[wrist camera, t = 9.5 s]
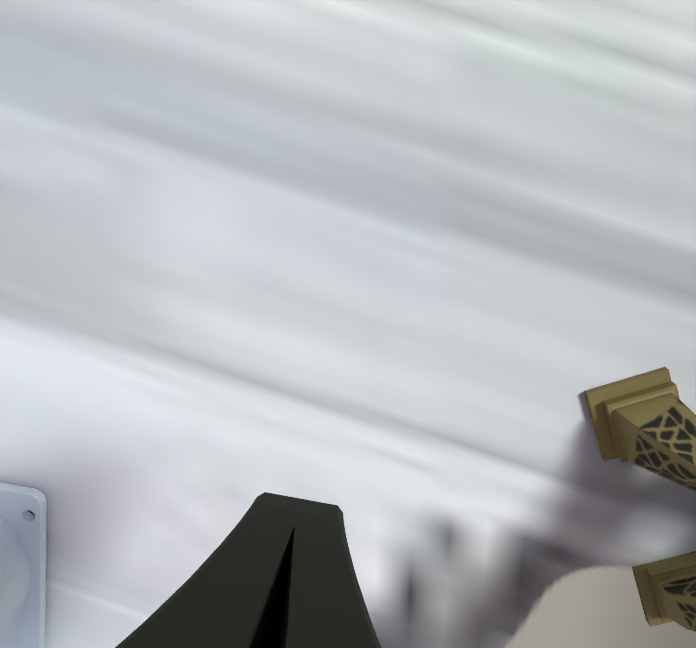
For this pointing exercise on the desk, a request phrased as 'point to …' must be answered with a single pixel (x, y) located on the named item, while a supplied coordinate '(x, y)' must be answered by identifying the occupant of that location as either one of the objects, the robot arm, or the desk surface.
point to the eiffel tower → (660, 458)
